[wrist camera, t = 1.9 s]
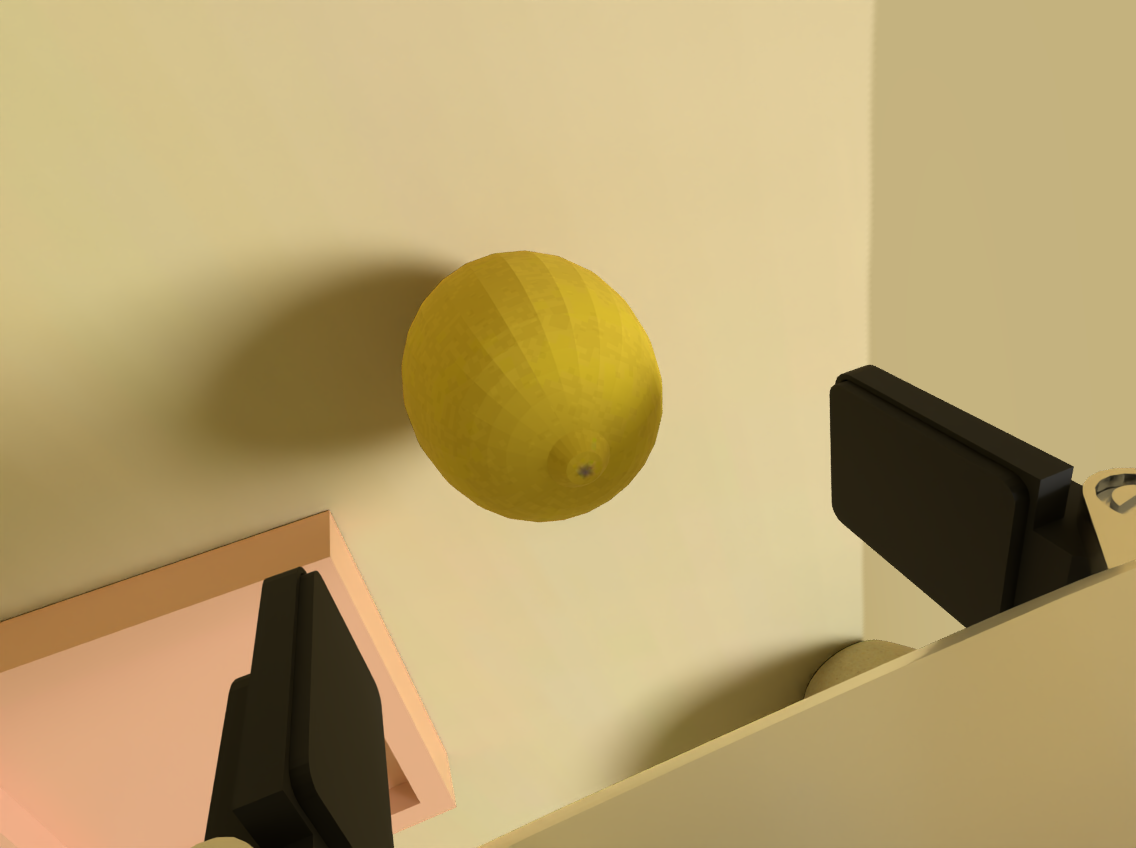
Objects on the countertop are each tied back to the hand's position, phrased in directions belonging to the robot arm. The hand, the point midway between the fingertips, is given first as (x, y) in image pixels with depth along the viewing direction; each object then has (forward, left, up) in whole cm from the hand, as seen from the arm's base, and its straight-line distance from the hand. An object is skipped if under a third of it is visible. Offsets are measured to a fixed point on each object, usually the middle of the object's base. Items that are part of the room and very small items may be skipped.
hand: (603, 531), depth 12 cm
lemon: (-1, 0, -9) cm, 9 cm away
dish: (+9, -12, -9) cm, 17 cm away
